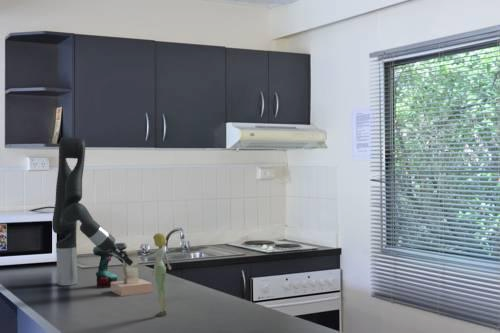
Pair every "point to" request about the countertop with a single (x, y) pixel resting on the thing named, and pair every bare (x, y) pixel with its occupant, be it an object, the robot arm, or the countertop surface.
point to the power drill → (106, 266)
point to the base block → (131, 287)
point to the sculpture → (160, 271)
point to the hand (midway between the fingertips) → (128, 262)
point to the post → (131, 267)
